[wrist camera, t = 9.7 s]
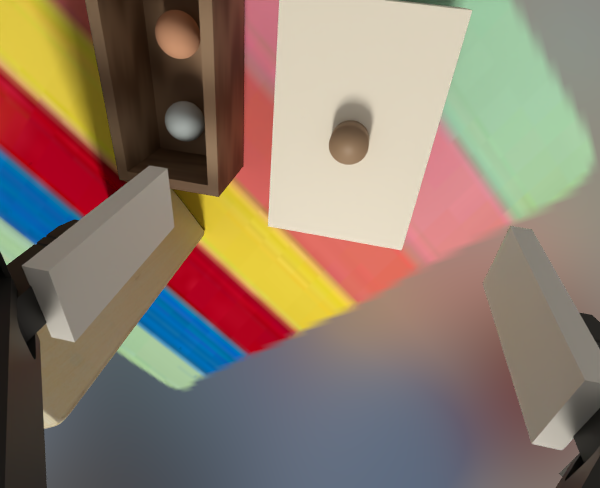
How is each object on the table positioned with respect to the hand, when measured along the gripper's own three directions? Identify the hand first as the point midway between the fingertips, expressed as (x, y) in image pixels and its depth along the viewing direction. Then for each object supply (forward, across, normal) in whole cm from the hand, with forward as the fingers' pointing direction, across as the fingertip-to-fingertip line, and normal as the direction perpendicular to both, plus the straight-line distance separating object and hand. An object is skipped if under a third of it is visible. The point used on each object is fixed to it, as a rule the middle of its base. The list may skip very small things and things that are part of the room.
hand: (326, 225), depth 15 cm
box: (+18, -13, +1) cm, 22 cm away
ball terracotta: (+17, -13, +4) cm, 21 cm away
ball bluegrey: (+17, -13, -2) cm, 21 cm away
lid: (+14, 0, 0) cm, 14 cm away
